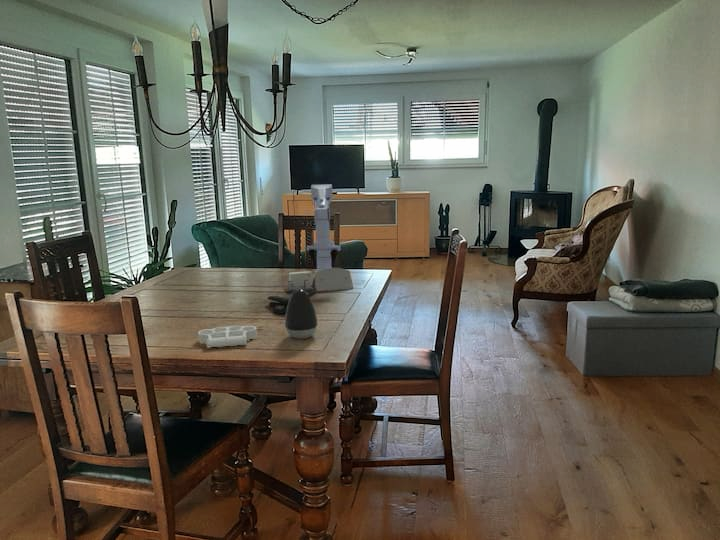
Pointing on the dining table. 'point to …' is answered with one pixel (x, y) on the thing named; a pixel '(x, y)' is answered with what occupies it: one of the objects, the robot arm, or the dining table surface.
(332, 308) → the dining table surface
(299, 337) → the dark grey tapered dome
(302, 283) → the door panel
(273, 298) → the can opener
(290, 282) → the clip bracket
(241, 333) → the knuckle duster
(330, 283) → the grey curved block
